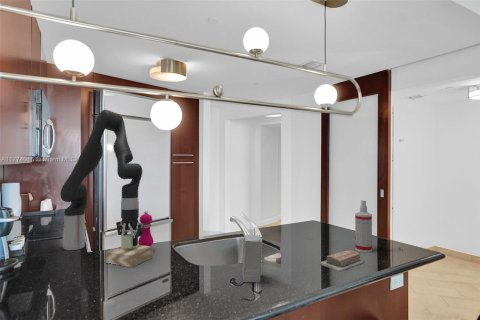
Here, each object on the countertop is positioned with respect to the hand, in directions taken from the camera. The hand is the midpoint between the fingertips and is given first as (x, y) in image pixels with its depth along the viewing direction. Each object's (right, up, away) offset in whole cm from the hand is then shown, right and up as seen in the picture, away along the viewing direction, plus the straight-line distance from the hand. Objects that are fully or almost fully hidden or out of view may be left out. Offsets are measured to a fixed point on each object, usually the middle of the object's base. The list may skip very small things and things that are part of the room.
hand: (129, 245), depth 135 cm
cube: (0, 0, 0) cm, 0 cm away
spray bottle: (+112, -7, +16) cm, 113 cm away
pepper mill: (+3, -7, +14) cm, 16 cm away
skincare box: (+54, -7, -21) cm, 58 cm away
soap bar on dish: (+95, -8, -4) cm, 95 cm away
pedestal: (0, -7, 0) cm, 7 cm away
